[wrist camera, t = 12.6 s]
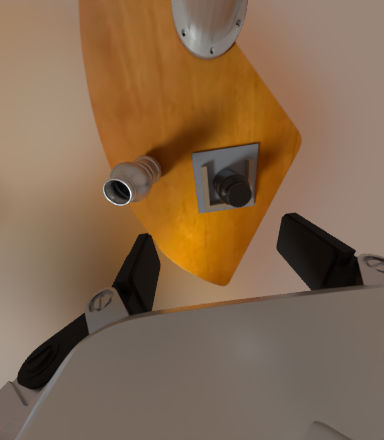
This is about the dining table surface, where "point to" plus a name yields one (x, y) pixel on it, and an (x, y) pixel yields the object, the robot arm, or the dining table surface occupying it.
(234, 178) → the supplement bottle
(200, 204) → the bottle stand
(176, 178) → the dining table surface
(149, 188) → the plastic bottle
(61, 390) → the robot arm
